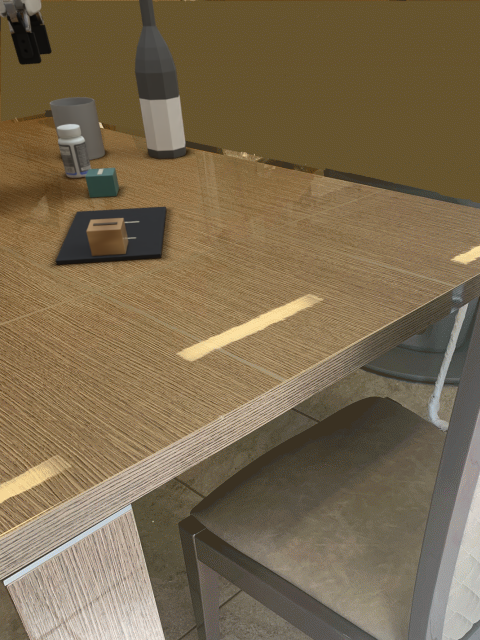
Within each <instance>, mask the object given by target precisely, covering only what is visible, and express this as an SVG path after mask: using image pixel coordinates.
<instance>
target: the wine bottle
mask: <svg viewBox="0 0 480 640" xmlns="http://www.w3.org/2000/svg"><path fill="white" fill-rule="evenodd" d="M138 2H139V3H138V5H139V10H140V16H141V17H140V18H141V21H142V22H141V23H142V27H141V32H140V34H139V35H140V36H139V39H138V43H137V45H136V52H135V60H134V75H135V80H136V86H137V93H138V98H139V106H140V111H141V117H142V124H143V129H144V136H145V143H146V148H147V154H148V157H150V158H154V159H158V160H162V159H163V160H164V159H176V158H179V157H183V156H186V153H187V144H186V143H187V142H186V136H185V128H184V121H183V112H182V104H181V97H180V90H179V81H178V74H177V66H176V63H175V59H174V58H173V54H172V53H171V50H170V47H169V46H168V44H167V42H166V40H165V39H164V37H163V35H162V34H161V31H160V30H159V28H158V26H157V24H156V17H155V10H154V1H153V0H138Z"/></svg>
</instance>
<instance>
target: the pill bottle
mask: <svg viewBox="0 0 480 640" xmlns="http://www.w3.org/2000/svg"><path fill="white" fill-rule="evenodd" d="M57 132H58V136H59V137H60V138H59V139H58V138H57V139H58V140H57V145H58V149H59V153H60V156H61V160H62V164H63V169H64V172H65V176H66V177H68V178H71V179H80V178H85V176H86V174H87V172H88V170H89V169H92V166H91V160H89V156H88V152H87V147H86V143H85V139H84V138H83V137H82V136H80V135H81V130H80V126H79V125H76V124H67V125H62V126H59V127H57ZM57 132H56V133H57ZM58 136H57V137H58Z"/></svg>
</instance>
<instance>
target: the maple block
mask: <svg viewBox="0 0 480 640" xmlns="http://www.w3.org/2000/svg"><path fill="white" fill-rule="evenodd" d="M86 232H87V236H88V240H89V245H90V249H91V253H92V256H101V255H116V254H126V250H127V245H128V238H127V232H126V227H125V222H124V218H113V219H96V220H91V221H90V223H89V226H88V229H87V231H86Z"/></svg>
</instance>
